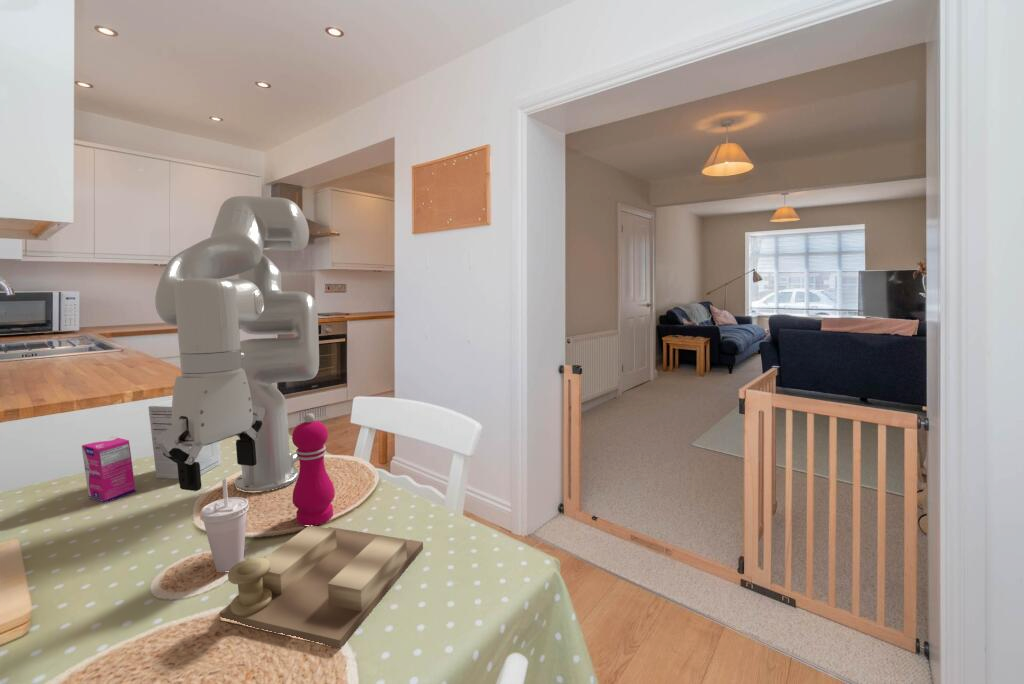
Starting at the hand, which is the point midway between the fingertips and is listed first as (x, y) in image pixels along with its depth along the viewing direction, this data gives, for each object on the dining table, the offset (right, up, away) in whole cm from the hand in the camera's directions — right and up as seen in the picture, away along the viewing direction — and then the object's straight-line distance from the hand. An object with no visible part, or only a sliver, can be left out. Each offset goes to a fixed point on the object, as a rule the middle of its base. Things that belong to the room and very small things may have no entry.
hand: (220, 476), depth 70 cm
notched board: (+17, -15, -1) cm, 23 cm away
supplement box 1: (-39, -12, +27) cm, 49 cm away
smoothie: (0, -15, +3) cm, 15 cm away
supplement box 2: (-31, -10, +39) cm, 51 cm away
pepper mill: (+7, -13, +17) cm, 22 cm away
